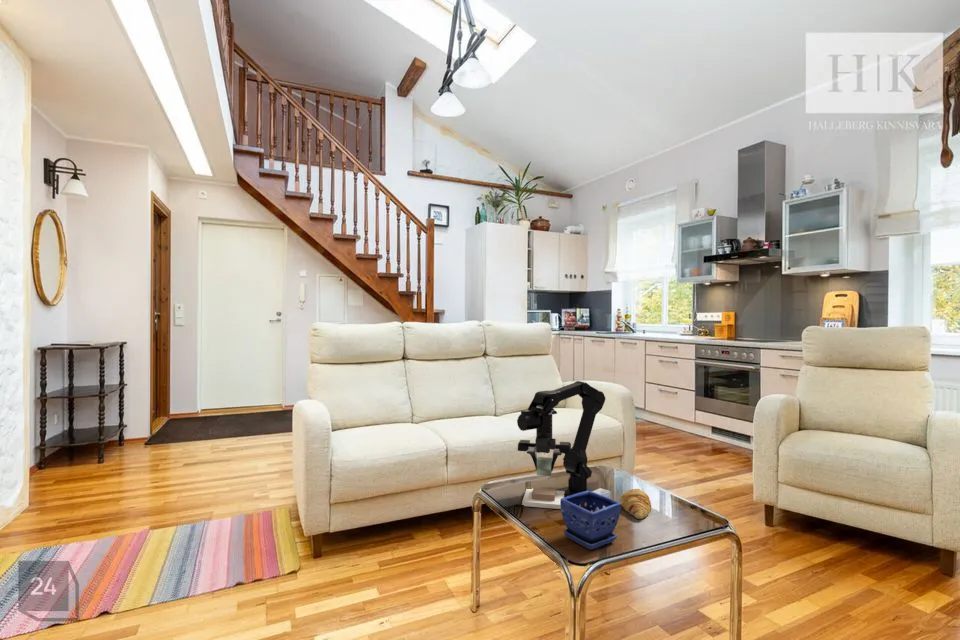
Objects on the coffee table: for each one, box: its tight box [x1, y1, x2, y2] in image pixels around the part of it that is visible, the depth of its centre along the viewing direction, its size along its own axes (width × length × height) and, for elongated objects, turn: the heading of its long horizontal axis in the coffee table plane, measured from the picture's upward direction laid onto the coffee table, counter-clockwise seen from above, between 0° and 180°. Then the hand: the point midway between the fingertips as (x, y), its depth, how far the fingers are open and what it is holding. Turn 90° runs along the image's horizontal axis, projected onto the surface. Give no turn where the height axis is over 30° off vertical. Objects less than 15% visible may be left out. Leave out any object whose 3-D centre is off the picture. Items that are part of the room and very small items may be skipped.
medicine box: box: [591, 487, 612, 512], centre depth 161 cm, size 8×4×9 cm, turn 134°
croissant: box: [619, 488, 652, 520], centre depth 169 cm, size 21×10×8 cm, turn 170°
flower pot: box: [560, 490, 622, 550], centre depth 145 cm, size 13×13×12 cm
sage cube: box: [536, 456, 553, 477], centre depth 177 cm, size 5×5×5 cm
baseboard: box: [521, 485, 566, 510], centre depth 177 cm, size 14×14×4 cm
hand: (544, 470), depth 177 cm, fingers closed on sage cube, 5 cm apart
